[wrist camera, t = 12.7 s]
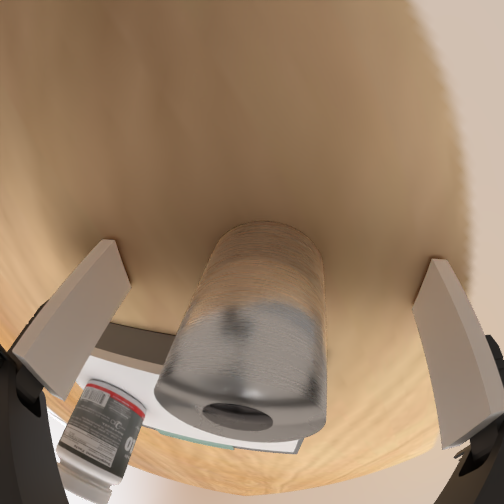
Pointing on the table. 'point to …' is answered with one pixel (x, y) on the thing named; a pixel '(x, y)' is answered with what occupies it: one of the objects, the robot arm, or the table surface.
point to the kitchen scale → (153, 384)
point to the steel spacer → (253, 340)
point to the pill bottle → (99, 441)
